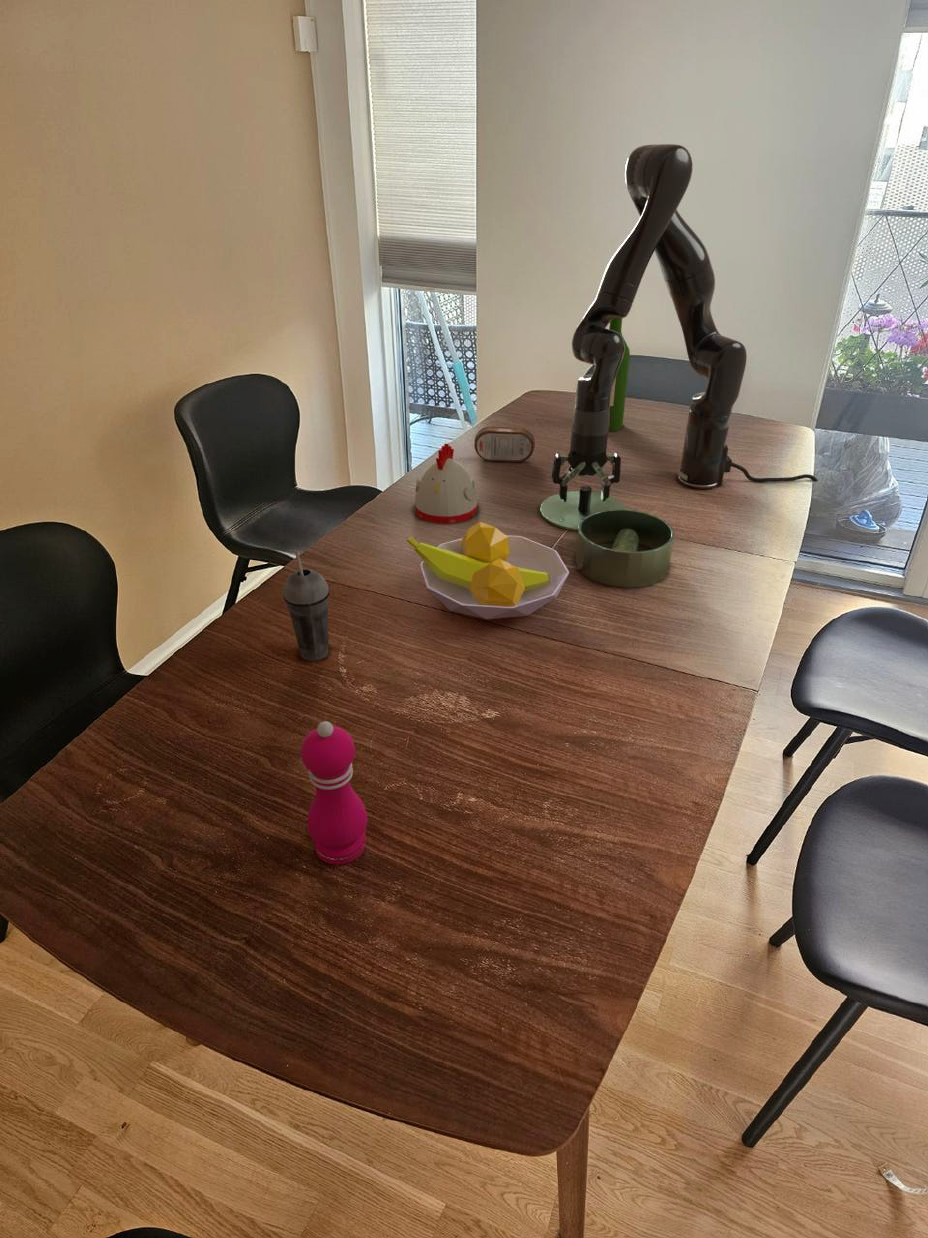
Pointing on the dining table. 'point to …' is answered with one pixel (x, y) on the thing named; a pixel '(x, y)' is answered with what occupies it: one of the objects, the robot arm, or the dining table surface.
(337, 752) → the pepper mill
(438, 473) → the kitchen timer
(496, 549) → the fruit bowl
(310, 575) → the beverage cup
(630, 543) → the vegetable
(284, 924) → the dining table surface
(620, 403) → the wine bottle
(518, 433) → the tin
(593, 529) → the green open cylinder
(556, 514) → the lid
